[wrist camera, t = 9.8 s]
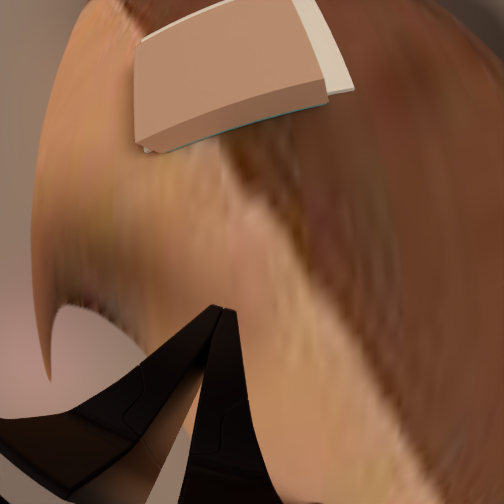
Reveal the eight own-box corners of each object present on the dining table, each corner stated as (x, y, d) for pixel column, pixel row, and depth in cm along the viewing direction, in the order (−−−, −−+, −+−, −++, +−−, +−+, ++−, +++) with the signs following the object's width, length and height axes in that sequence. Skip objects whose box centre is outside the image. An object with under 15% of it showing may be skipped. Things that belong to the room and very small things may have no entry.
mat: (354, 90, 16) (354, 87, 16) (147, 153, 21) (143, 152, 21) (302, -19, 17) (301, -22, 16) (143, 41, 22) (141, 39, 21)
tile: (324, 78, 13) (284, -15, 13) (135, 143, 17) (134, 46, 17) (329, 106, 16) (295, 15, 17) (165, 155, 20) (159, 65, 20)
